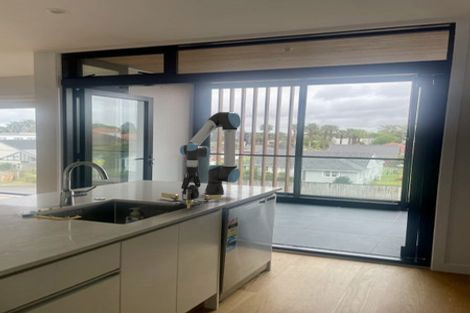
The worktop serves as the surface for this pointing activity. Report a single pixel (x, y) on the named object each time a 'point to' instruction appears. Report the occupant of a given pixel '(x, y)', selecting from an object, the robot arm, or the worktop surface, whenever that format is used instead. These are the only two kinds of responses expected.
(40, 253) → the worktop surface
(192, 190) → the camera
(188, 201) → the tribrach
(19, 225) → the worktop surface
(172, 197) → the knob lever
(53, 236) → the worktop surface
